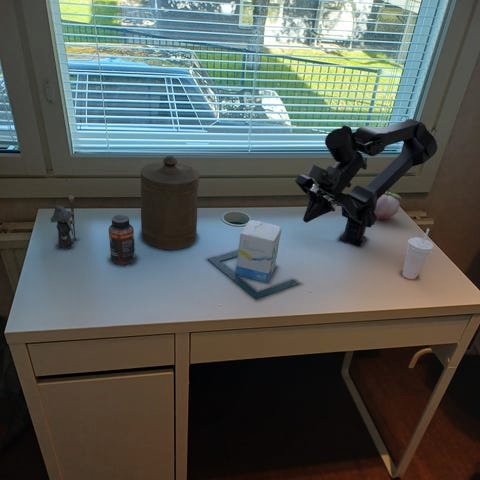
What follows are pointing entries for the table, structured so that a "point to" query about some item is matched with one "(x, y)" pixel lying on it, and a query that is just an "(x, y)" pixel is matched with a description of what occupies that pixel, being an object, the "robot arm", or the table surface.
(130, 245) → the supplement bottle
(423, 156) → the robot arm
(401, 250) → the table surface
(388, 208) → the decorative fruit
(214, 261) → the frame
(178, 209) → the wooden container
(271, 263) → the ink box
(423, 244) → the smoothie
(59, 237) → the wizard figurine
